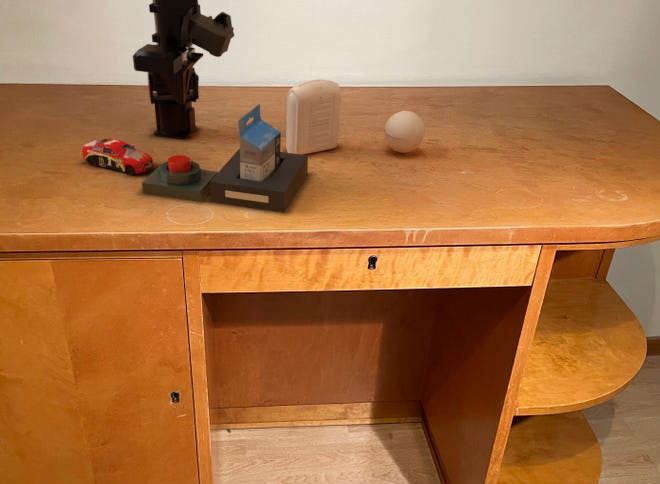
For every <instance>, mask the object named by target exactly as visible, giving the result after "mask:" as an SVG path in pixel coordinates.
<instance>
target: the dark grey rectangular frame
mask: <svg viewBox="0 0 660 484" xmlns="http://www.w3.org/2000/svg"><path fill="white" fill-rule="evenodd" d="M308 167H309V154H302V155H300V154H293V153H288V152H283V151H280V166H279V168H278V169H277V170H276V172H275V173H274V175H273V176H272V177H271V179H270V180H269V182H268V183H266V182H259V181H252V180H244V179H240V147H239V148H238V149H237V150H236V151H235V153H234V154H233V155H232V156H231V157H230V159H228V161H227V162H226V163H225V164H224V165H223V166H222V168H220V170H219V171H217V172H218V173H217V175H216V176H215V177H214V178H213V179H212V180H211V181H210V187H211V191H210V202H211V203H213V204H221V205H229V206H234V207H235V206H236V207H243V208H249V209H256V210H263V211H264V210H265V211H271V212H275V213H276V212H277V213H285V211H286V210H287V208H288V207H289V205H290V204H291V202H292V200H293V199H294V198H295V197H296V196H295V195H296V194H297V192H298V191H299V189H300V187H301V186H302V184H303V183H304V181H305V180H306V178H307V177H308V171H309V170H308Z"/></svg>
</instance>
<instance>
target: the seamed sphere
mask: <svg viewBox="0 0 660 484" xmlns="http://www.w3.org/2000/svg"><path fill="white" fill-rule="evenodd" d="M382 134H384V139H385V142H386V144H387V146H389V148H391V149H392V151H395V152H397V153H400V154H406V153H410V152H413V151H415V150H416V149H417V148H418V147H420V145H421V144H422V142H423V140H424V137H425V124H424V122H423V119H422V118H421V117H420V116H419V115H418V114H417V113H415V112H413V111H410V110H401V111H398V112H395V113H394V114H393V115H392V116H390V117H389V119H388V120H387V121H386V123H385V128H384V132H381V133H376V134H375V136H377V135H382Z"/></svg>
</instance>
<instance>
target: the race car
mask: <svg viewBox="0 0 660 484" xmlns="http://www.w3.org/2000/svg"><path fill="white" fill-rule="evenodd" d="M81 154H82V155H81V156H82V159H83V161H85V162H86V163H89V164H90V166H92V167H98V166H99V167H102V168H107V169H111V170H115V171H119V172H123V173H125V172H126V174H127V175H129V176H133V177H134V176H135V175H136V174H143V173H146V172H149V171H151V170H152V169H153V168H154V160H153V157H152V156H151V155H150V154H149V153H148V152H146V151H145V152H144V151H143V150H140V149H137V148H136V145H135V144H130V143H128V142H126V141H123V140H120V139H116V138H102V139H94V140H90V141H89V142H86V143H85V144H83V146H82V152H81Z"/></svg>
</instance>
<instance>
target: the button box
mask: <svg viewBox="0 0 660 484" xmlns="http://www.w3.org/2000/svg"><path fill="white" fill-rule="evenodd" d="M218 172H219V171H217V170H211V169H210V170H209V169H201V165H200V164H199V163H198V162H196V161H194V160H191V171H188V172H185V173H174V172H170V171H169V169H168V161H165V162H163V163H160V164H159V166H158V167H156V169H155V170H154V171H152V173H150V175H148V176H147V177H146V178H145V179H144V180H143V181H142V182H141V188H142V194H145V195H152V196H158V197H164V198H172V199H178V200H179V199H180V200H186V201H192V202H199V203H201V202H203V201H204V200H205V198H207V195H208V194H210V193H211V187H210V181H211V180H212V179H213V178H214V177H215V176H216V175H217V173H218Z"/></svg>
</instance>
